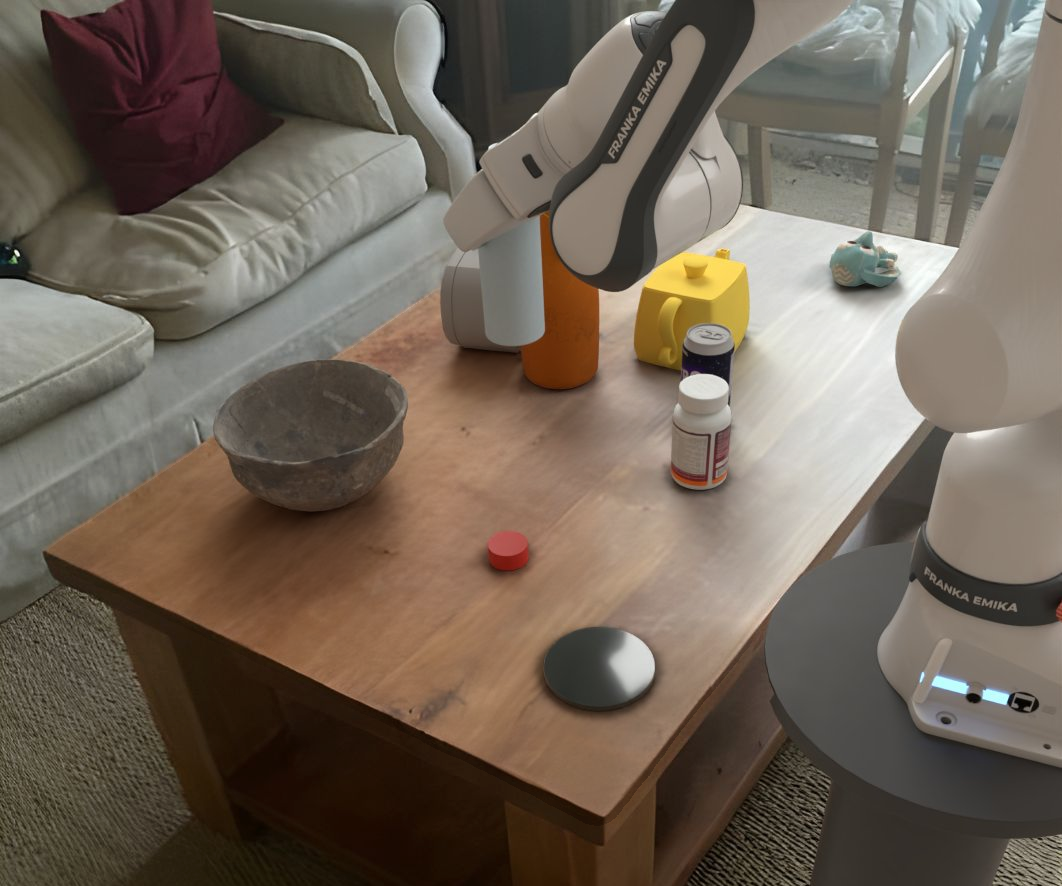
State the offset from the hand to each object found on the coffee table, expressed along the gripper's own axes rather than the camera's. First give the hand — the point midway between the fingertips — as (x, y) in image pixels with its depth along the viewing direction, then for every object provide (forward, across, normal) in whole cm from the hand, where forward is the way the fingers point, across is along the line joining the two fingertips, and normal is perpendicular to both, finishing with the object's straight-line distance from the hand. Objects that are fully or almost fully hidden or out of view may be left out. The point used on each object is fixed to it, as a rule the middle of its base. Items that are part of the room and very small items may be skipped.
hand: (499, 229), depth 111 cm
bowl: (+25, +20, +11) cm, 34 cm away
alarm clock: (+32, -18, +5) cm, 37 cm away
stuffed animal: (+11, -60, +26) cm, 67 cm away
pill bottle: (+3, -7, +33) cm, 34 cm away
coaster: (-5, +22, +40) cm, 46 cm away
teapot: (+16, -31, +20) cm, 40 cm away
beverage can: (+7, -16, +29) cm, 34 cm away
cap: (+6, +16, +27) cm, 32 cm away
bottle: (+7, 0, +9) cm, 11 cm away
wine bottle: (+22, -14, +14) cm, 30 cm away
